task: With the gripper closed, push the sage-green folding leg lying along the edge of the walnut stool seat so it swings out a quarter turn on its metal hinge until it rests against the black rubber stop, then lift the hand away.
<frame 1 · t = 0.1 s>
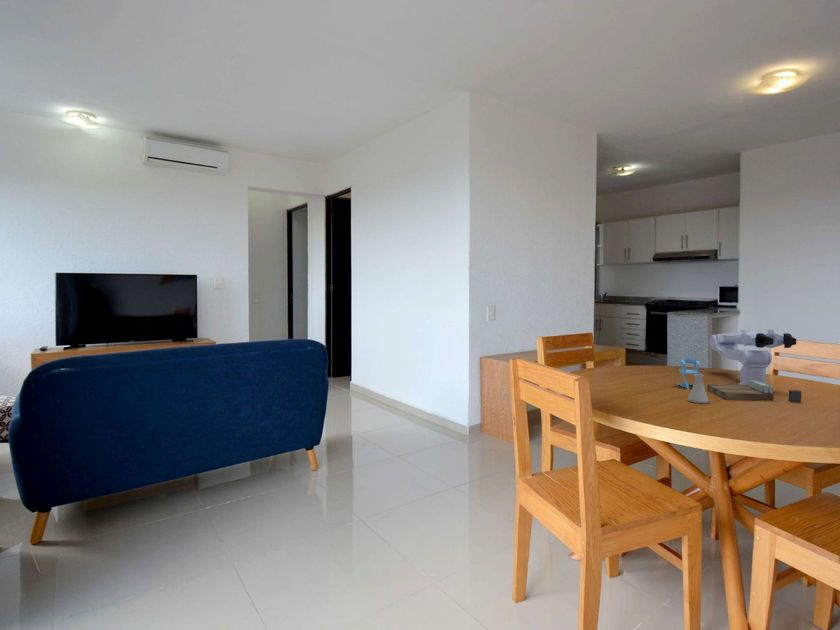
hand: (783, 341, 178), 22 cm above the table, tool horizontal, fingers open, 7 cm apart
folding leg: (760, 386, 182), point 4 cm above the table, hinge at 0.0°
chair: (689, 388, 200), on the table
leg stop: (794, 402, 175), on the table
flask: (698, 402, 178), on the table
stool seat: (738, 395, 186), on the table
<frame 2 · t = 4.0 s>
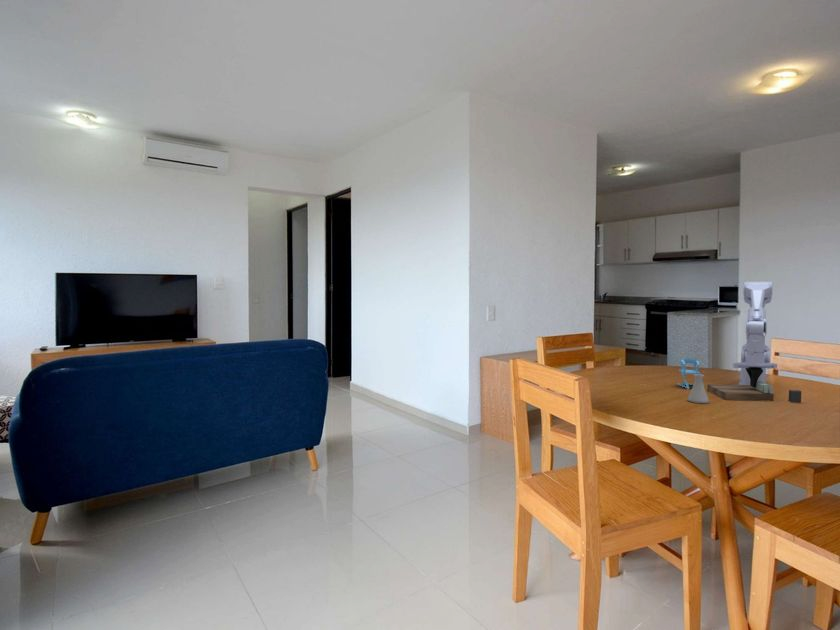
hand: (753, 386, 185), 3 cm above the table, tool pointing down, fingers closed, pressing on folding leg
folding leg: (761, 386, 182), point 4 cm above the table, hinge at 3.7°, touching gripper
everything else where it was.
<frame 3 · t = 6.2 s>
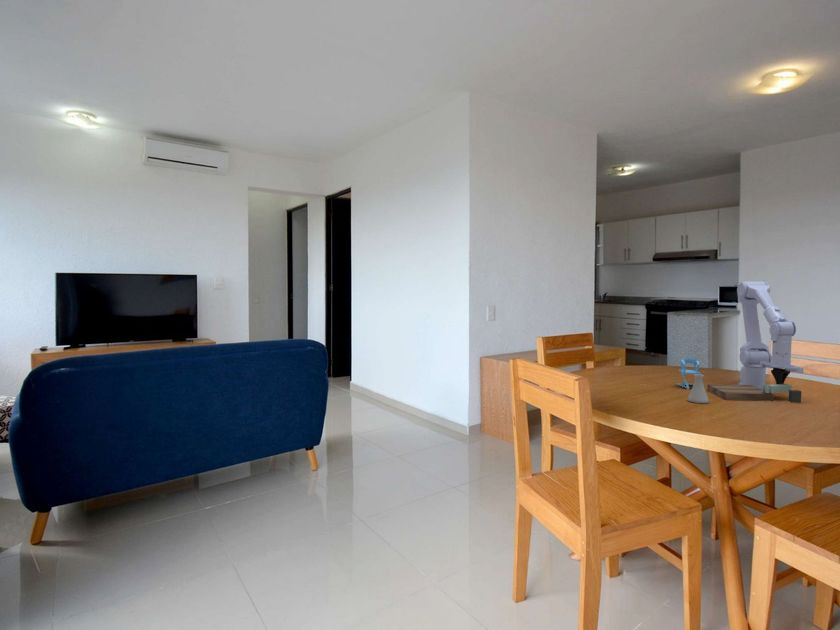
hand: (780, 388, 181), 3 cm above the table, tool pointing down, fingers closed, pressing on folding leg
folding leg: (776, 388, 179), point 4 cm above the table, hinge at 69.6°, touching gripper
everything else where it was.
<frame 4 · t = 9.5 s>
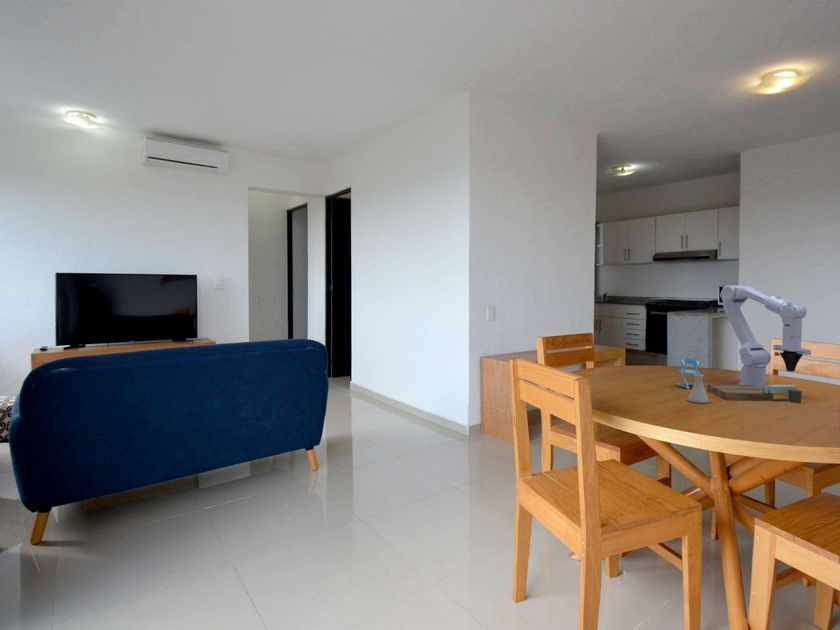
hand: (790, 371, 184), 9 cm above the table, tool pointing down, fingers closed
folding leg: (778, 389, 178), point 4 cm above the table, hinge at 84.5°
everything else where it was.
at the end: folding leg at +84° (first picture: +0°) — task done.
